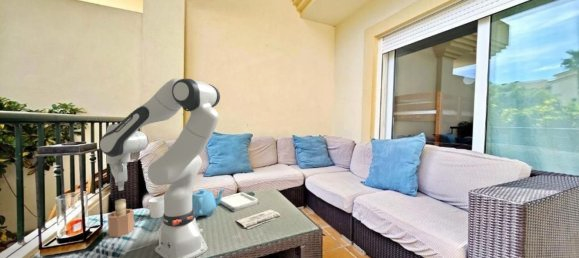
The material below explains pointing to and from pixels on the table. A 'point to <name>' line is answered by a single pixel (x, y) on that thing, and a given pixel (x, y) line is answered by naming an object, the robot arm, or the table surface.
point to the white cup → (156, 207)
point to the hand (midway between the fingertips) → (119, 187)
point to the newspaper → (258, 218)
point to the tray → (238, 201)
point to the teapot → (205, 202)
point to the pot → (120, 223)
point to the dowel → (120, 207)
